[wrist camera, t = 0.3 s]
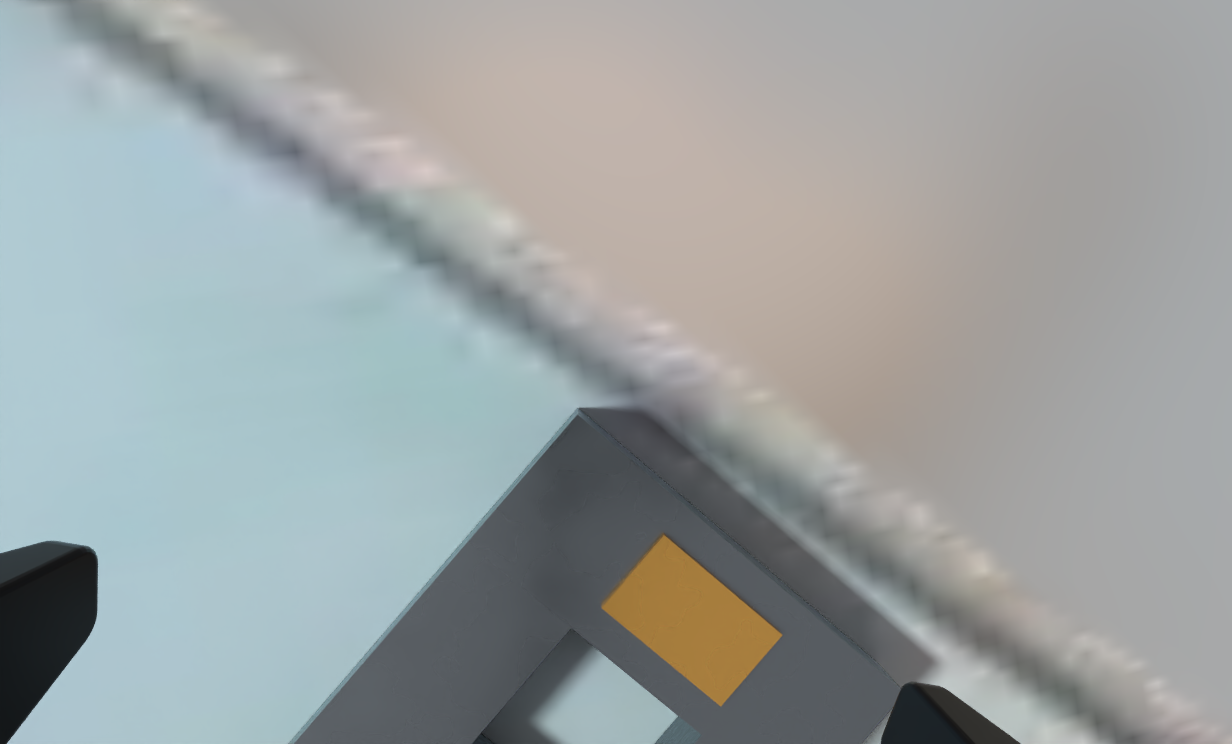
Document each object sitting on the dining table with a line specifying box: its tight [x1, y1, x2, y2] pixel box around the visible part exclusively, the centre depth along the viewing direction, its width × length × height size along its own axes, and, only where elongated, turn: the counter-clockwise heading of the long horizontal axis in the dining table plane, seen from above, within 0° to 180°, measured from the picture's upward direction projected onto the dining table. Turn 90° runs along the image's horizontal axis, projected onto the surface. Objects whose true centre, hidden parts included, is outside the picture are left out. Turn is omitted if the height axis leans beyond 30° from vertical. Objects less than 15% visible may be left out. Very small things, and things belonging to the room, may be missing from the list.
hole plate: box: [289, 408, 901, 744], centre depth 22 cm, size 16×14×2 cm
